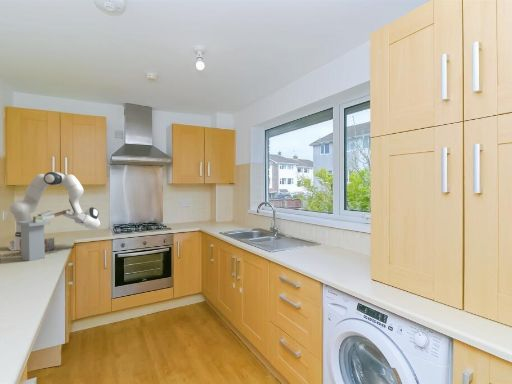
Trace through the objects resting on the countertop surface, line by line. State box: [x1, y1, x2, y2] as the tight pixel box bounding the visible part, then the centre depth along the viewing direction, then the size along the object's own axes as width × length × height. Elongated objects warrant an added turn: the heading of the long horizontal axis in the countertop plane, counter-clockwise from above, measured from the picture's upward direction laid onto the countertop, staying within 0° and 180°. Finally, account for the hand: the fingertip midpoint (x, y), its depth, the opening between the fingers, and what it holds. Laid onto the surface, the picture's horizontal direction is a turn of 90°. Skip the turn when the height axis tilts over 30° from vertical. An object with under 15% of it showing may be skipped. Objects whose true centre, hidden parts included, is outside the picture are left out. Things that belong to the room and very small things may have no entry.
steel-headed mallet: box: [37, 209, 71, 221], centre depth 210 cm, size 5×20×5 cm, turn 151°
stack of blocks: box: [19, 237, 55, 256], centre depth 217 cm, size 21×6×12 cm, turn 160°
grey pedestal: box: [17, 219, 50, 262], centre depth 198 cm, size 18×12×26 cm, turn 61°
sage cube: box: [32, 215, 43, 223], centre depth 195 cm, size 4×4×4 cm
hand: (64, 211), depth 215 cm, fingers closed on steel-headed mallet, 2 cm apart
